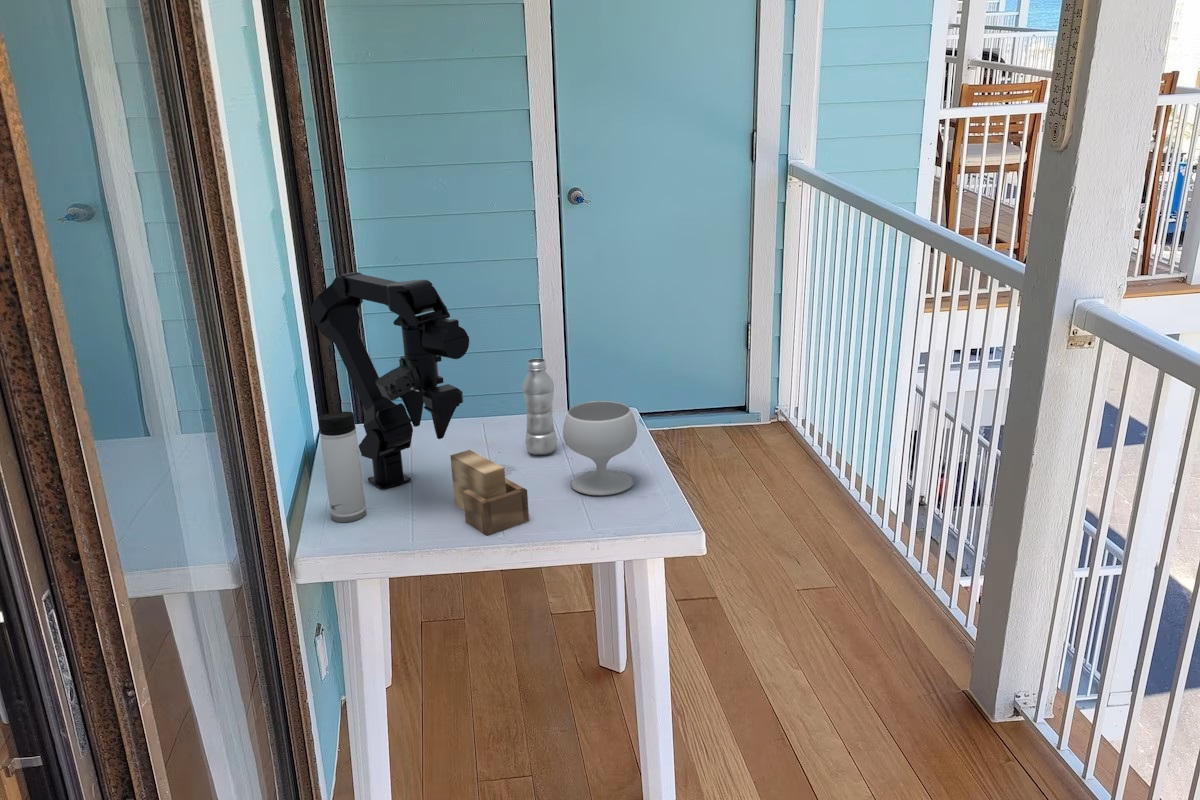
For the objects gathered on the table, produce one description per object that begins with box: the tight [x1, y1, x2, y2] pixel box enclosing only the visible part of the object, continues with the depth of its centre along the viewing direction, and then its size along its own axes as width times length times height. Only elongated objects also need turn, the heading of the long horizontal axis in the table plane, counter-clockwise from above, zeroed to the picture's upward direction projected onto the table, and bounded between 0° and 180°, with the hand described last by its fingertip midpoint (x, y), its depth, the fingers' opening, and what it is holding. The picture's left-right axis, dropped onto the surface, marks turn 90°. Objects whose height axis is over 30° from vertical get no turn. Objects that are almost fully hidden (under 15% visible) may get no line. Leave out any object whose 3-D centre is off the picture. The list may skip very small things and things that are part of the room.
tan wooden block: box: [450, 449, 506, 512], centre depth 180 cm, size 12×4×10 cm, turn 38°
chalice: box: [562, 400, 638, 496], centre depth 189 cm, size 14×14×15 cm
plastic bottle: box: [521, 357, 558, 456], centre depth 206 cm, size 6×7×20 cm
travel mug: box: [317, 411, 367, 523], centre depth 179 cm, size 6×7×20 cm
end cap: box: [463, 477, 530, 536], centre depth 177 cm, size 7×9×6 cm
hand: (428, 432), depth 185 cm, fingers open, 9 cm apart
